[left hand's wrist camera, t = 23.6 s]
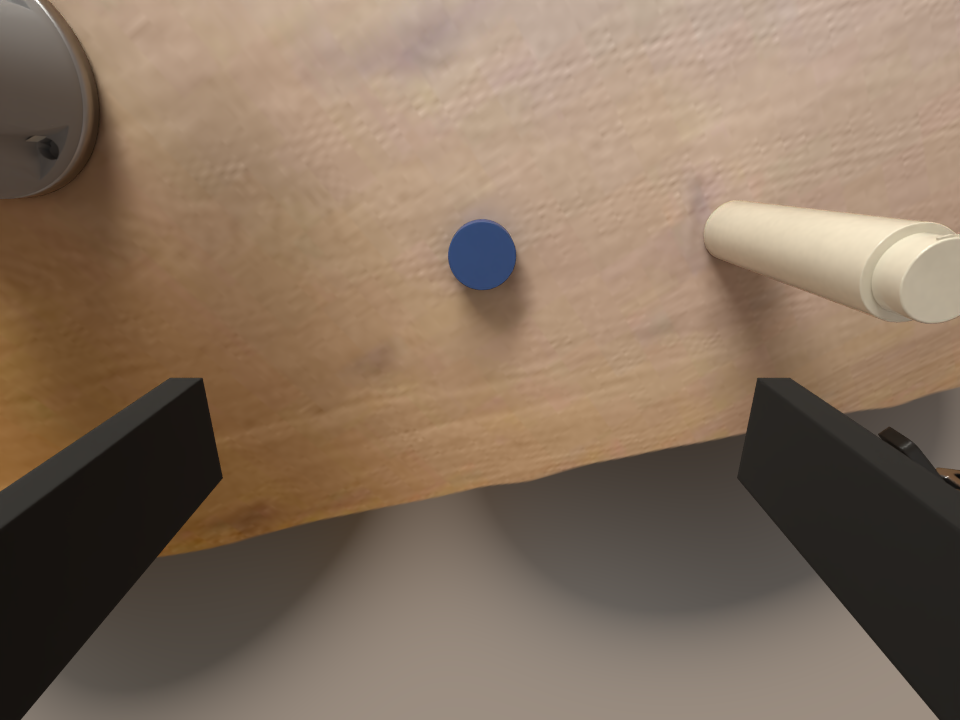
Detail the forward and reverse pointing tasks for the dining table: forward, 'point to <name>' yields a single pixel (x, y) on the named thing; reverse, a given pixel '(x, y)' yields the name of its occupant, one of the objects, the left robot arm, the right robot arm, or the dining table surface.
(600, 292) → the dining table surface
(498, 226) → the lid
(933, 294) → the jar
